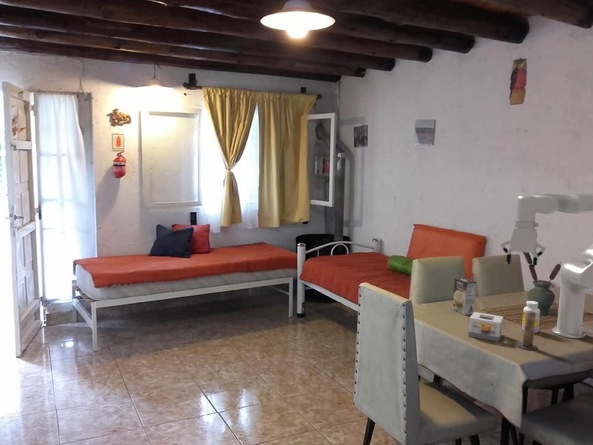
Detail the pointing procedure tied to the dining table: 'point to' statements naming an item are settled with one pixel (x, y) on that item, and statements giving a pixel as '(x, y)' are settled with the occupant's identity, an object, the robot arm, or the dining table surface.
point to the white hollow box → (476, 330)
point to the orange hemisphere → (485, 327)
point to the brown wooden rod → (529, 329)
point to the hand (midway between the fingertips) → (521, 265)
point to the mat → (527, 348)
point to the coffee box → (464, 296)
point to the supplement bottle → (532, 307)
